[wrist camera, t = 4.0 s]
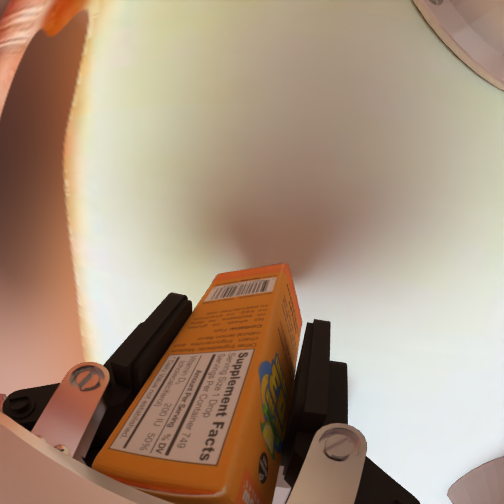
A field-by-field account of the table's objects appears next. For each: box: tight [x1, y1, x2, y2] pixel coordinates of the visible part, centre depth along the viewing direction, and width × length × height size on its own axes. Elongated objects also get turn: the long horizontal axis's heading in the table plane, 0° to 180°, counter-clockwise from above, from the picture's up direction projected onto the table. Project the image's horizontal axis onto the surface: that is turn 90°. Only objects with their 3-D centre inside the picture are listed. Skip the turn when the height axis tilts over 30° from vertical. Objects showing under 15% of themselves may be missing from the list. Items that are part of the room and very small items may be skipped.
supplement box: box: [92, 263, 302, 504], centre depth 9 cm, size 3×4×10 cm
